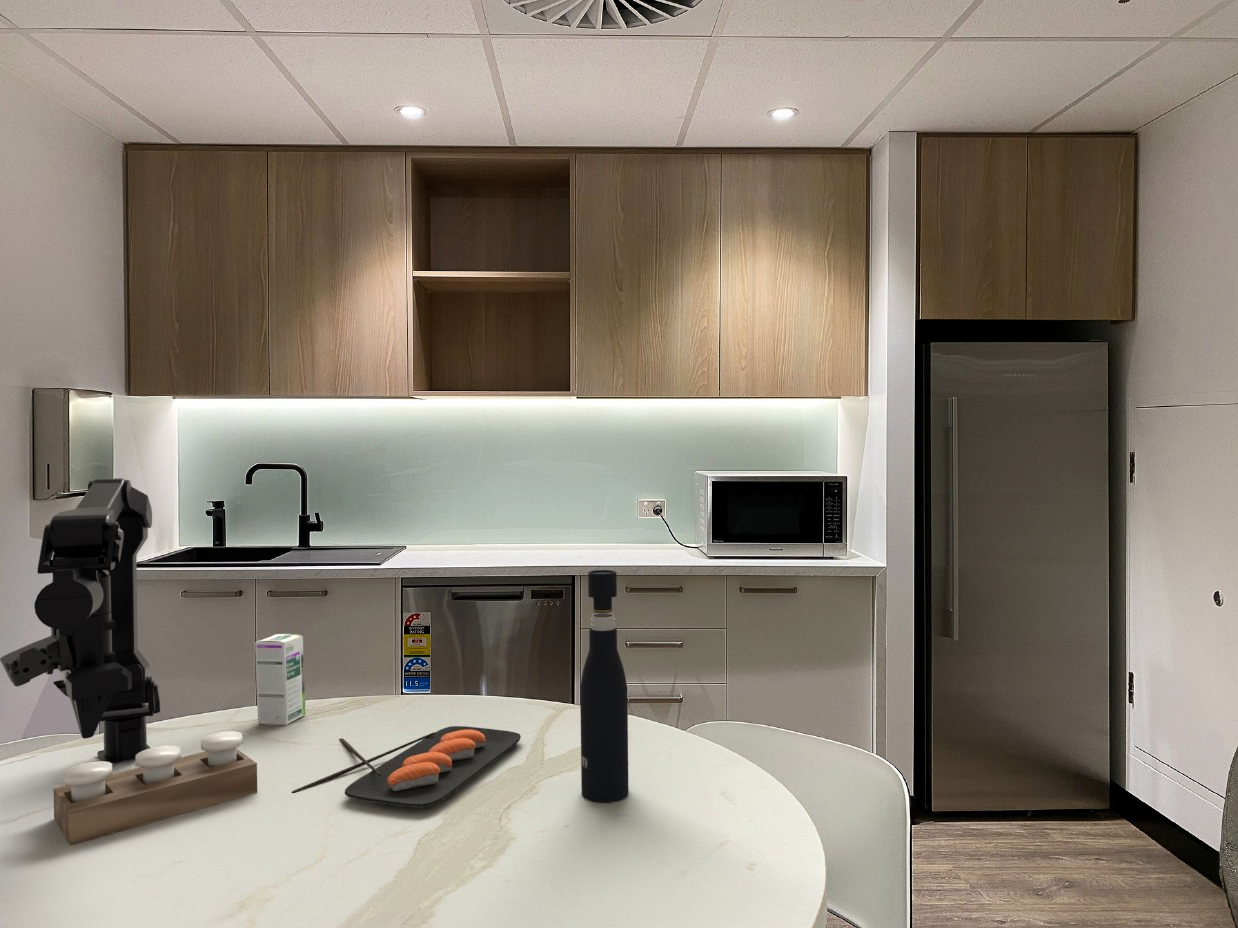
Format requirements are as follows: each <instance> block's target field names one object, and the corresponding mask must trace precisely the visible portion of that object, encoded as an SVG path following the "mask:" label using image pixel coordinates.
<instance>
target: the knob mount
mask: <svg viewBox="0 0 1238 928" xmlns="http://www.w3.org/2000/svg"><path fill="white" fill-rule="evenodd" d="M236 759H237V761H236V762H232V763H229V764H225V765H221V766H217V767H213V768H209V767H208V751H202V752H197V753H193V754H190V755H189V754H188V755H185V756H181V757H180V759H179V760H177V761H175V762H174V777H173V778H170V779H166V780H162V781H158V782H154V783H150V784H146V785H144V784H143V767H138V766H137V767H134V768H130V769H127V770H122V771H118V772H114V773H113V772H112V774H111V775H110V776H109V777H107V778H105V795H103V796H99V797H95V798H91V799H87V800H83V801H79V802H75V803H72V798H71V785H67V784H64V785H60V786H59V785H58V786H56V787H55V786H54V787H53V788H52V789H53V819H54V821H55V823H56V824H57V826H58V828H59V829H60V831H61V833H62V834H63V836H64V838H65V839H66V840H67V843H68V844H69V845H70V846H73V845H75V844H79V843H83V842H86V841H90V840H93V839H94V840H95V839H97V838H100V837H104V836H107V835H111V834H115V833H118V832H123V831H126V830H129V829H132V828H136V827H140V826H143V825H146V824H150V823H153V822H154V823H155V822H157V821H161V820H164V819H167V818H171V817H176V816H178V815H182V814H184V813H189V812H192V811H195V810H199V809H203V808H206V807H211V806H213V805H217V804H221V803H225V802H227V801H231V800H235V799H239V798H242V797H246V796H249V795H253V794H256V793H258V763H257V762H256V761H255V760H253V759H252V758H251V757H249V756H248V755H246V754H245V753H243V752H242V751H241V750H239V749H238V748H236Z"/></svg>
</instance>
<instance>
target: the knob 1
mask: <svg viewBox="0 0 1238 928" xmlns="http://www.w3.org/2000/svg"><path fill="white" fill-rule="evenodd" d="M62 774H63V775H62V779H63V780H62V782H63V784H64V785H71V798H72V803H75V802H79V801H83V800H87V799H91V798H95V797H99V796H103V795H105V778H107V777H109V776H110V775H111V774H113V764H112V763H110V762H105V761H102V760H101V761H100V760H99V761H91V762H90V761H89V762H85V763H80V764H77V765H74V766H71V767H70V768H67V769H65V770H64V771H63V773H62Z"/></svg>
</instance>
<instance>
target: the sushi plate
mask: <svg viewBox="0 0 1238 928" xmlns="http://www.w3.org/2000/svg"><path fill="white" fill-rule="evenodd" d="M521 738H522V737H521V734H520V733H518V732H515V731H510V730H504V729H494V728H486V727H485V728H484V727H477V726H475V727H474V726H464V725H463V726H461V725H460V726H459V725H453V726H452V725H451V726H447V727H445V728H441V729H438V730H437V731H436V732H434V731H433V732H431V733H429V734H426V735H424V736H421V737H419V738H417V739H414V740H412V741H409V742H407V743H405V744H402V745H400V746H397V747H396V748H393V749H390V750H388V751H386V752H383V753H380V754H378V755H376V756H373V757H371V758H369V759H367V760H366V759H365V758H364V757H363V755H361V754H360V753H359V752H358V751H357V750H356V749H355V748H354V747H353V746H352V745H351V744H350V743H349V742H348V741H347V740H345V739H344V738H339V741H340V743H341V744H342V745H343V746H344V748H345V749H347V750H348V751H349V752H350V753H352V754H353V755H354V756H355V757H356V758H358V759H359V760H360V761H361V762H359V763H357V764H353V765H352V766H349V767H346V768H344V769H341V770H340V771H337V772H335V773H332V774H330V775H328V776H325V777H322V778H320V779H317V780H315V781H313V782H311V783H309V784H306V785H303V786H301V787H298V788H297V789H294V790H291V793H292V794H295V793H298V792H302V791H304V790H306V789H310V788H312V787H316V786H318V785H321V784H325V783H327V782H330V781H332V780H334V779H336V778H338V777H341V776H343V775H345V774H347V773H349V772H352V771H354V770H356V769H359V768H361V767H363V766H365V765H366V766H367V767H368V768H369V769H371V771H369V772H368V773H366V774H363V775H362V776H361V777H359V778H358V779H356V780H355V781H353V782H352V783H350V784H349V785H348V786H347V787H346V788H345V790H344V795H345V796H346V797H348V798H350V799H353V800H358V801H364V802H371V803H376V804H377V803H378V804H384V805H390V806H396V807H397V806H399V807H406V808H427V807H431V806H434V805H436V804H439V803H441V802H442V801H443V800H445V799H447V798H448V797H449V796H450V795H452V794H454V793H455V792H456V791H457V790H459V789H460V788H461V787H463V786H464V785H465V784H466V783H468V782H469V781H471V780H472V779H473V778H474V777H476V776H477V775H478V774H479V773H481V772H482V771H483V770H485V769H486V768H487V767H489V766H490V765H491V764H493V762H495V761H496V760H498V759H499V758H501V757H502V756H503V755H505V754H506V753H507V752H508V751H510V750H511V749H512V748H513V747H514V746H516V745H517V744H518V743H519V742H520V740H521ZM410 745H412V746H410ZM408 746H409V747H408ZM407 747H408V748H407ZM404 748H406V749H405V750H404V751H402V752H400V753H398V754H397V755H395V756H394V757H391V758H390V759H389V760H388V761H385V762H384V763H382V764H380V765H379V766H377V767H376V768H375V767H374V766H373V765H372V764H370V763H372V762H374V761H376V760H378V759H381V758H383V757H386V756H389V755H390V754H393V753H394V752H395V753H396V752H397V751H399V750H401V749H404Z"/></svg>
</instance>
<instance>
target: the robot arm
mask: <svg viewBox="0 0 1238 928" xmlns="http://www.w3.org/2000/svg"><path fill="white" fill-rule="evenodd" d="M152 508H153V507H152V505H151V502H150V498H149V496H148V495H147V494H146V493H144V492H142V491H141V490H138V489H137V488H136V487H133V486H132V483H131V481H130V480H129V479H125V478H122V477H121V478H117V477H116V478H95V479H94V480H89V481H88V484H87V491H86V493H85V494H84V495H83V497H82V499H81V500H80V501H79V503H78V504H77V506H76V507H75V508H73V509H69V510H64V511H60V512H58V513H56V514H55V515H54V516H53V517H51V520H50V522H49V524H45V526H44V530H43V535H42V541H41V546H40V552H39V557H38V559H39V560H38V565H37V572H36V573H37V574H38V575H41V574H42V575H43V574H52V582H51V583H48V584H47V585H45V586H44V587H43V588H41V590H40V591H39V593H38V594H37V596H36V597H35V598H36V599H35V601H34V607H33V608H34V612H35V615H36V617H37V618H38V621H40V622H41V623H42V624H43V625H44V626H46V627H48V628H51V629H50V632H51V634H50V636H49V635H48V636H46V637H44V638H42V639H39V640H36V641H34V642H31V643H30V644H27V645H25V646H22V647H20V648H18V649H15V650H14V651H12V652H8V653H7V654H4V655H3V656H1V657H0V662H1V665H2V667H3V668H4V671H5V672H6V674H7V677H8V679H9V680H10V682H11V683H12V684H13V686H14V687H20V686H21V687H22V686H23V685H25V684H28V683H30V682H31V680H32V679H34V678H37V677H39V676H41V675H43V674H46V675H53V673H54V670H58V671H59V672H60V679H59V680H54V681H53V682H52V683H53V685H54V686H55V687H56V688H57V689H58V690H59V691H60V692H61V693H62V694H63V695H65V697H67V698H69V699H70V704H71V707H72V709H73V713H74V716H75V720H76V722H77V726H78V730H79V733H80V736H81V738H82V739H85V740H86V739H91V738H92V737H94V735H95V733H96V731H97V729H98V727H99V725H100V722H103V726H102V727H103V750H99V751H97V757H99V759H100V760H101V761H105V762H110V763H112V765H114V764H118V763H122V762H127V761H131V760H136V755H137V754H138V753H139V752H141V751H144V750H146V749H150V748H151V746H150V745H148V743H147V742H148V741H147V739H148V738H147V717H154V716H155V714H158V713H159V714H160V713H161V711H162V710H161V697H160V695H161V694H160V689H159V685H158V684H157V683H156V681H155V677H154V676H151V674H150V673H151V672H150V671H151V670H150V667H151V666H150V664H149V661H147V659H146V658H145V656H144V655H143V653H141V651H140V650H139V647H138V646H139V645H138V643H139V642H138V639H139V638H138V584H137V583H138V576H137V575H138V573H137V572H138V571H137V570H138V568H137V565H138V564H137V563H138V562H137V556H138V553H139V552H140V550H141V549H142V547H143V545H145V543H146V542H147V539H148V538H149V529H152V525H153V509H152Z"/></svg>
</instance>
